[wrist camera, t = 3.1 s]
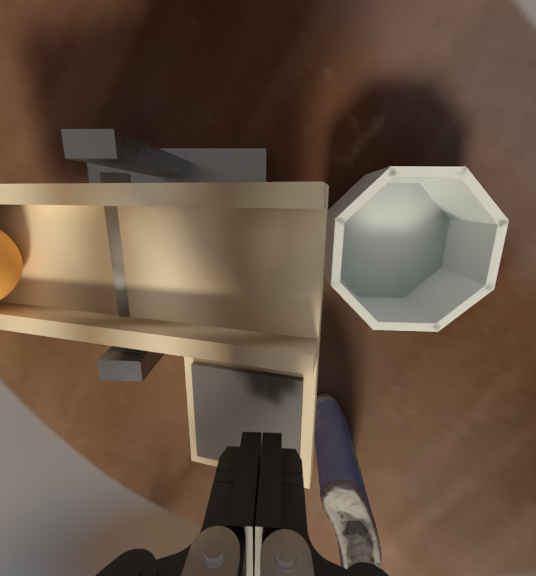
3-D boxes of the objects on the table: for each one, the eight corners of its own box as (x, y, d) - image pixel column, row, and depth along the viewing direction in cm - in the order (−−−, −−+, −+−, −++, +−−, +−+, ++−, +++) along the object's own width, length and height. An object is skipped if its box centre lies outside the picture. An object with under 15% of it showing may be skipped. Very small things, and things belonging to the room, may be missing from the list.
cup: (460, 175, 21) (520, 166, 15) (439, 303, 23) (485, 333, 18) (324, 174, 21) (338, 165, 16) (317, 300, 24) (327, 328, 18)
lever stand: (267, 151, 21) (250, 103, 11) (265, 317, 24) (252, 400, 14) (95, 151, 22) (-75, 105, 11) (116, 313, 25) (-2, 390, 15)
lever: (330, 171, 12) (321, 161, 9) (312, 469, 15) (303, 531, 12) (-24, 176, 16) (-108, 171, 13) (29, 406, 20) (-27, 441, 17)
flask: (306, 395, 26) (321, 522, 16) (340, 388, 26) (379, 514, 15) (328, 481, 28) (354, 641, 18) (360, 475, 28) (406, 636, 18)
